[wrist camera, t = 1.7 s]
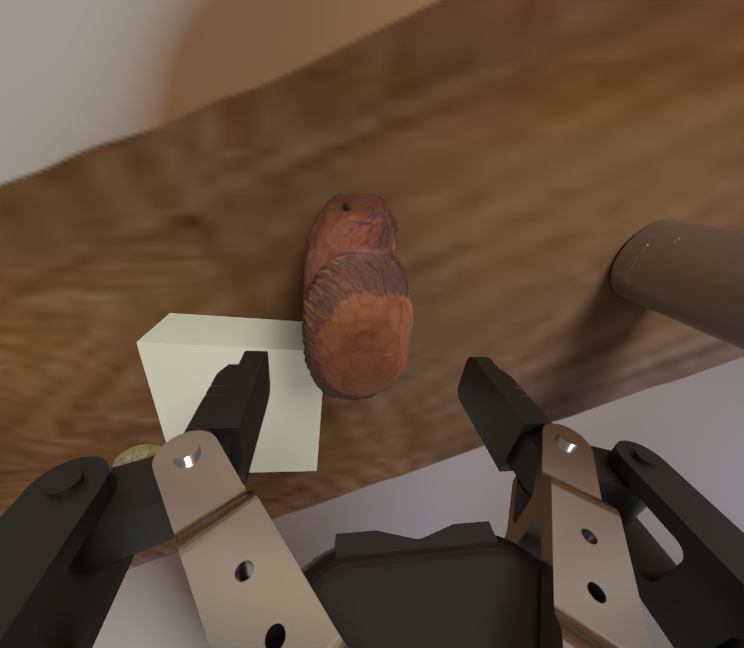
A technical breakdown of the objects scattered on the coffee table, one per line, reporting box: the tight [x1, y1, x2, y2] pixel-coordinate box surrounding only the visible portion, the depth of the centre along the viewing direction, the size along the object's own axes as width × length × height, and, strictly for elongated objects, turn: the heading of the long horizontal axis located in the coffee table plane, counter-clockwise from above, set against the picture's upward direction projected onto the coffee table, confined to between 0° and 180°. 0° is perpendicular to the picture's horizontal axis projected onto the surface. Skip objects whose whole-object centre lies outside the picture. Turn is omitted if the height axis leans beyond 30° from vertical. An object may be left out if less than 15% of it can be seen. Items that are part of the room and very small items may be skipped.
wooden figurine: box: [302, 193, 413, 400], centre depth 20 cm, size 12×6×18 cm, turn 176°
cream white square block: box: [136, 313, 322, 473], centre depth 32 cm, size 16×18×6 cm
